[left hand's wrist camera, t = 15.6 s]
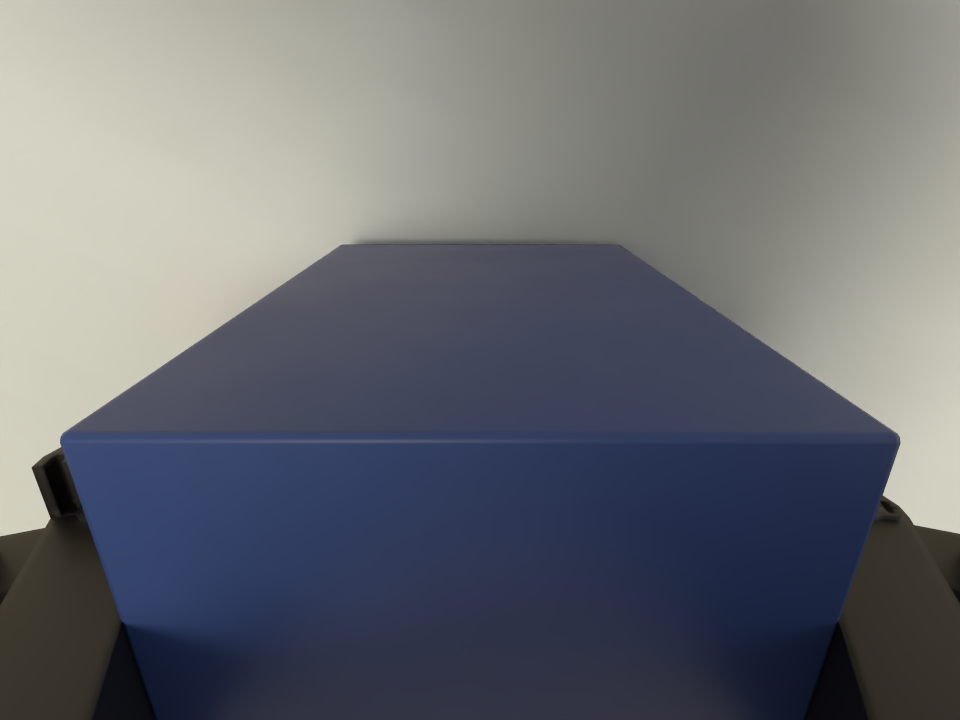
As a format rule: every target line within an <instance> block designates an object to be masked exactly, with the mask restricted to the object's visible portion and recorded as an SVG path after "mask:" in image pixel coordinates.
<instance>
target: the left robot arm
mask: <svg viewBox="0 0 960 720" xmlns="http://www.w3.org/2000/svg"><path fill="white" fill-rule="evenodd" d="M32 470H33V473H34V475H35V478H36V481H37V483H38V486H39V489H40V491H41V494H42V497H43V499H44V502H45V505H46V507H47V510H48V512H49V515H50V518H51V519H50V521H49V522H48V524H47V526H46V527H45V528H43V529H37V530H32V531H27V532H22V533H16V534H11V535H6V536H1V537H0V720H155V717H154V714H153V711H152V708H151V705H150V702H149V699H148V696H147V694H146V691H145V688H144V685H143V682H142V679H141V676H140V673H139V670H138V667H137V664H136V662H135V659H134V656H133V653H132V650H131V647H130V644H129V641H128V638H127V635H126V632H125V630H124V627H123V624H122V621H121V619H120V616H119V613H118V610H117V607H116V604H115V601H114V598H113V595H112V592H111V589H110V587H109V584H108V581H107V578H106V575H105V572H104V569H103V566H102V563H101V560H100V557H99V554H98V551H97V549H96V546H95V543H94V540H93V537H92V534H91V531H90V528H89V525H88V522H87V519H86V516H85V514H84V511H83V508H82V505H81V502H80V499H79V496H78V493H77V490H76V487H75V484H74V481H73V479H72V476H71V473H70V470H69V467H68V464H67V461H66V458H65V455H64V452H63V449H62V447H61V448H59V449H57V450H55V451H53V452H52V453H50V454H48V455H46V456H44V457H43V458H42V459H41V460H39V461H38V462H37V463H36V464H35V465H34V466H33V467H32ZM805 720H960V534H957V533H952V532H947V531H941V530H936V529H931V528H926V527H920V526H915V525H913V523H912V521H911V520H910V518H909V517H908V516H907V514H906V513H905V512H904V511H903V510H902V509H901V508H900V507H899V506H898V505H896V504H895V503H893V502H892V501H890V500H889V499H887V498H886V497H884V496H883V495H882V498H881V501H880V504H879V507H878V510H877V513H876V516H875V518H874V521H873V524H872V527H871V530H870V533H869V536H868V539H867V542H866V545H865V548H864V550H863V553H862V556H861V559H860V562H859V565H858V568H857V571H856V574H855V577H854V580H853V582H852V585H851V588H850V591H849V594H848V597H847V600H846V603H845V606H844V609H843V612H842V614H841V617H840V620H839V622H838V625H837V628H836V631H835V634H834V637H833V640H832V642H831V645H830V648H829V651H828V654H827V657H826V660H825V663H824V666H823V669H822V672H821V674H820V677H819V680H818V683H817V686H816V689H815V692H814V695H813V698H812V701H811V703H810V706H809V709H808V712H807V715H806V718H805Z"/></svg>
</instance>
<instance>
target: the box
mask: <svg viewBox="0 0 960 720" xmlns="http://www.w3.org/2000/svg"><path fill="white" fill-rule="evenodd" d="M60 444H61V446H62V449H63V452H64V455H65V458H66V461H67V464H68V467H69V470H70V473H71V476H72V479H73V481H74V484H75V487H76V490H77V493H78V496H79V499H80V502H81V505H82V508H83V511H84V514H85V516H86V519H87V522H88V525H89V528H90V531H91V534H92V537H93V540H94V543H95V546H96V549H97V551H98V554H99V557H100V560H101V563H102V566H103V569H104V572H105V575H106V578H107V581H108V584H109V587H110V589H111V592H112V595H113V598H114V601H115V604H116V607H117V610H118V613H119V616H120V619H121V621H122V624H123V627H124V630H125V632H126V635H127V638H128V641H129V644H130V647H131V650H132V653H133V656H134V659H135V662H136V664H137V667H138V670H139V673H140V676H141V679H142V682H143V685H144V688H145V691H146V694H147V696H148V699H149V702H150V705H151V708H152V711H153V714H154V717H155V720H805V718H806V715H807V712H808V709H809V706H810V703H811V701H812V698H813V695H814V692H815V689H816V686H817V683H818V680H819V677H820V674H821V672H822V669H823V666H824V663H825V660H826V657H827V654H828V651H829V648H830V645H831V642H832V640H833V637H834V634H835V631H836V628H837V625H838V622H839V620H840V617H841V614H842V612H843V609H844V606H845V603H846V600H847V597H848V594H849V591H850V588H851V585H852V582H853V580H854V577H855V574H856V571H857V568H858V565H859V562H860V559H861V556H862V553H863V550H864V548H865V545H866V542H867V539H868V536H869V533H870V530H871V527H872V524H873V521H874V518H875V516H876V513H877V510H878V507H879V504H880V501H881V498H882V495H883V492H884V489H885V486H886V484H887V481H888V478H889V475H890V472H891V469H892V466H893V463H894V460H895V457H896V454H897V452H898V449H899V446H900V437H899V436H898V434H897V433H896V432H894V431H893V430H891V429H890V428H888V427H887V426H885V425H884V424H882V423H881V422H879V421H878V420H876V419H875V418H873V417H872V416H870V415H869V414H868V413H866V412H865V411H863V410H862V409H860V408H859V407H857V406H856V405H854V404H853V403H851V402H850V401H848V400H847V399H845V398H844V397H843V396H841V395H840V394H838V393H837V392H835V391H834V390H832V389H831V388H829V387H828V386H826V385H825V384H823V383H822V382H820V381H819V380H817V379H816V378H815V377H813V376H812V375H810V374H809V373H807V372H806V371H804V370H803V369H801V368H800V367H798V366H797V365H795V364H794V363H792V362H791V361H790V360H788V359H787V358H785V357H784V356H782V355H781V354H779V353H778V352H776V351H775V350H773V349H772V348H770V347H769V346H767V345H766V344H764V343H763V342H762V341H760V340H759V339H757V338H756V337H754V336H753V335H751V334H750V333H748V332H747V331H745V330H744V329H742V328H741V327H739V326H738V325H736V324H735V323H734V322H732V321H731V320H729V319H728V318H726V317H725V316H723V315H722V314H720V313H719V312H717V311H716V310H714V309H713V308H711V307H710V306H709V305H707V304H706V303H704V302H703V301H701V300H700V299H698V298H697V297H695V296H694V295H692V294H691V293H689V292H688V291H686V290H685V289H683V288H682V287H681V286H679V285H678V284H676V283H675V282H673V281H672V280H670V279H669V278H667V277H666V276H664V275H663V274H661V273H660V272H658V271H657V270H656V269H654V268H653V267H651V266H650V265H648V264H647V263H645V262H644V261H642V260H641V259H639V258H638V257H636V256H635V255H633V254H632V253H630V252H629V251H628V250H626V249H625V248H623V247H622V246H620V245H341V246H339V247H338V248H336V249H335V250H333V251H332V252H330V253H329V254H327V255H326V256H324V257H323V258H321V259H320V260H318V261H317V262H315V263H314V264H312V265H311V266H309V267H308V268H307V269H305V270H304V271H302V272H301V273H299V274H298V275H296V276H295V277H293V278H292V279H290V280H289V281H287V282H286V283H284V284H283V285H281V286H280V287H278V288H277V289H276V290H274V291H273V292H271V293H270V294H268V295H267V296H265V297H264V298H262V299H261V300H259V301H258V302H256V303H255V304H253V305H252V306H250V307H249V308H247V309H246V310H244V311H243V312H242V313H240V314H239V315H237V316H236V317H234V318H233V319H231V320H230V321H228V322H227V323H225V324H224V325H222V326H221V327H219V328H218V329H216V330H215V331H213V332H212V333H210V334H209V335H208V336H206V337H205V338H203V339H202V340H200V341H199V342H197V343H196V344H194V345H193V346H191V347H190V348H188V349H187V350H185V351H184V352H182V353H181V354H179V355H178V356H176V357H175V358H174V359H172V360H171V361H169V362H168V363H166V364H165V365H163V366H162V367H160V368H159V369H157V370H156V371H154V372H153V373H151V374H150V375H148V376H147V377H145V378H144V379H142V380H141V381H140V382H138V383H137V384H135V385H134V386H132V387H131V388H129V389H128V390H126V391H125V392H123V393H122V394H120V395H119V396H117V397H116V398H114V399H113V400H111V401H110V402H109V403H107V404H106V405H104V406H103V407H101V408H100V409H98V410H97V411H95V412H94V413H92V414H91V415H89V416H88V417H86V418H85V419H83V420H82V421H80V422H79V423H77V424H76V425H75V426H73V427H72V428H70V429H69V430H67V431H66V432H64V433H63V434H62V436H61V439H60Z"/></svg>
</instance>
